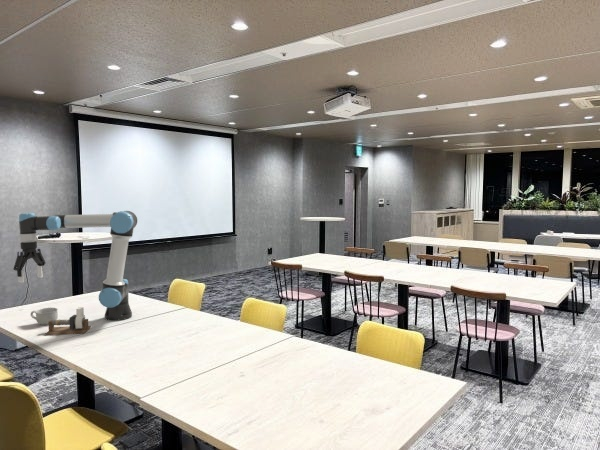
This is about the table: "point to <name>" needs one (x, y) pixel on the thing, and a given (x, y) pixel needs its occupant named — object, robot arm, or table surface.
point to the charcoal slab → (72, 322)
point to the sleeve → (79, 317)
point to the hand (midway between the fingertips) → (31, 280)
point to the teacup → (45, 315)
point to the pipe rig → (66, 330)
